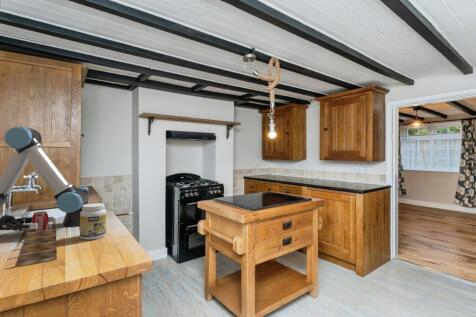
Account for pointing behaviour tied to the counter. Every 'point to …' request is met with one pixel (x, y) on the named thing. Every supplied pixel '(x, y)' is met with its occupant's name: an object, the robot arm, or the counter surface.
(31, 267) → the counter surface
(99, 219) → the supplement tub
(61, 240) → the counter surface
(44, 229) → the soda can
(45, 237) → the rack
